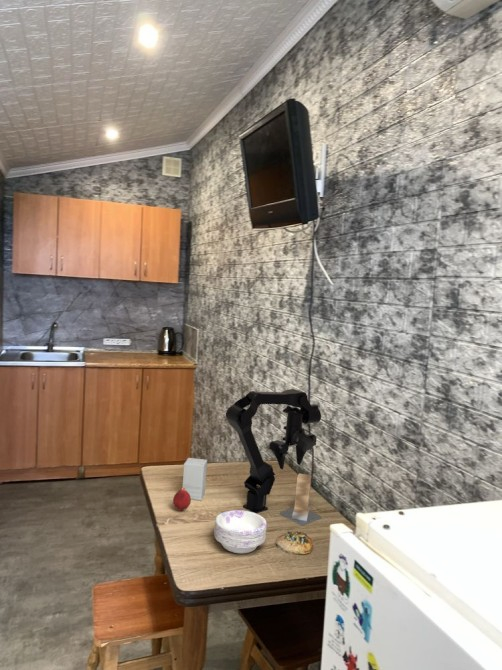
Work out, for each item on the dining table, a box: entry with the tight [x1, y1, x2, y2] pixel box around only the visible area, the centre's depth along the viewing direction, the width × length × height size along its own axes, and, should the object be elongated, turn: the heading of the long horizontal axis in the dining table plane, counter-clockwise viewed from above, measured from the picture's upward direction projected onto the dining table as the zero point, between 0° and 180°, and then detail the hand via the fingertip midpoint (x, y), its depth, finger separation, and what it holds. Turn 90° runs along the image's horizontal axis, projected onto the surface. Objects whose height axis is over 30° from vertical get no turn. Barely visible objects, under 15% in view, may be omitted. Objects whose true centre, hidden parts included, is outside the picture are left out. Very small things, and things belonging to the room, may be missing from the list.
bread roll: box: [275, 530, 314, 555], centre depth 149 cm, size 11×11×5 cm
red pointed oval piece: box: [172, 487, 192, 512], centre depth 166 cm, size 6×6×8 cm
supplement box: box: [181, 457, 208, 501], centre depth 179 cm, size 7×7×13 cm
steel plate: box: [279, 506, 322, 527], centre depth 170 cm, size 10×10×1 cm
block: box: [292, 472, 312, 521], centre depth 170 cm, size 5×9×13 cm, turn 168°
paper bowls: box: [213, 509, 268, 554], centre depth 147 cm, size 15×15×8 cm
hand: (290, 466), depth 181 cm, fingers open, 9 cm apart
